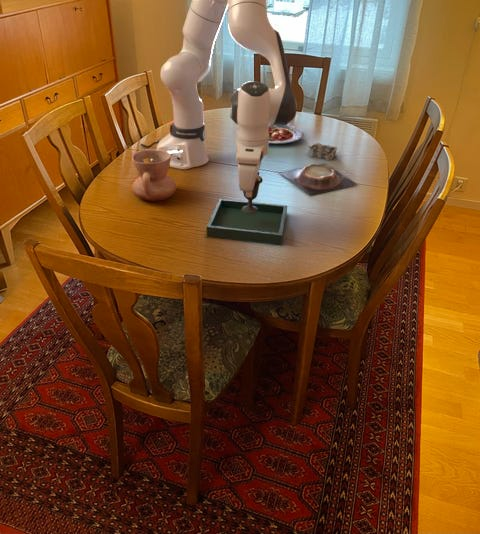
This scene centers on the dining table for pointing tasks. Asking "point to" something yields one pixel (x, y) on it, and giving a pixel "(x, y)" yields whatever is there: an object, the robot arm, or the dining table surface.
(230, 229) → the serving tray
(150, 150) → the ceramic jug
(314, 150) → the egg carton
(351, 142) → the dining table surface
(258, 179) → the sundae
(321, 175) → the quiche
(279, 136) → the ceramic plate
